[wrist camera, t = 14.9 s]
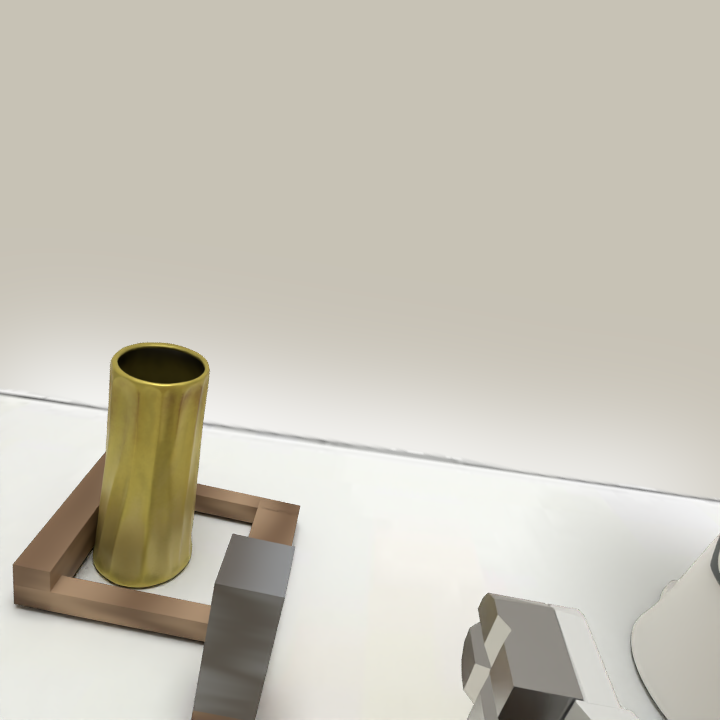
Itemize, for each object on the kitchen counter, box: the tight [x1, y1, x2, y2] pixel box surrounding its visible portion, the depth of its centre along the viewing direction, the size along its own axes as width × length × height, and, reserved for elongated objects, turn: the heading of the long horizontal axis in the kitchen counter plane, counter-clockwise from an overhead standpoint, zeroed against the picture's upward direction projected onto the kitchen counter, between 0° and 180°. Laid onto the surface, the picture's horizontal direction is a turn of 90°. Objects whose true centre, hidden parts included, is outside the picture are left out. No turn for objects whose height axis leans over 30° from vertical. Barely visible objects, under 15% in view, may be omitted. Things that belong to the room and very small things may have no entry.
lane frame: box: [13, 452, 300, 720], centre depth 32 cm, size 14×16×10 cm
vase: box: [93, 343, 210, 588], centre depth 34 cm, size 6×6×14 cm
